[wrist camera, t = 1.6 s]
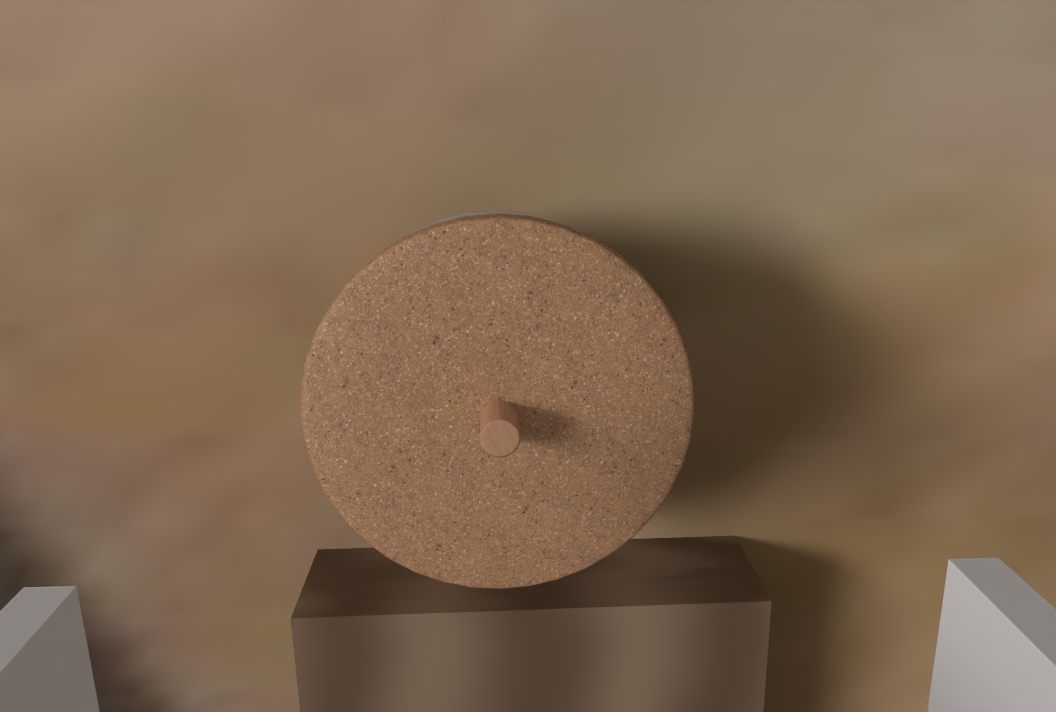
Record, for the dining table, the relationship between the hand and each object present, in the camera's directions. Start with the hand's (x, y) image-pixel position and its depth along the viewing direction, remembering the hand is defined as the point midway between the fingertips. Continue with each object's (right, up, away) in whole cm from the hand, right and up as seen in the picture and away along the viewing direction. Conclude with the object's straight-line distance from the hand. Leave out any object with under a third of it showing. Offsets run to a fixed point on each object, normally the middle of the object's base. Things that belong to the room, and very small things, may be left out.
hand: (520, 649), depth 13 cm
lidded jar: (-1, +5, +18) cm, 18 cm away
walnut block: (0, -10, +22) cm, 25 cm away
